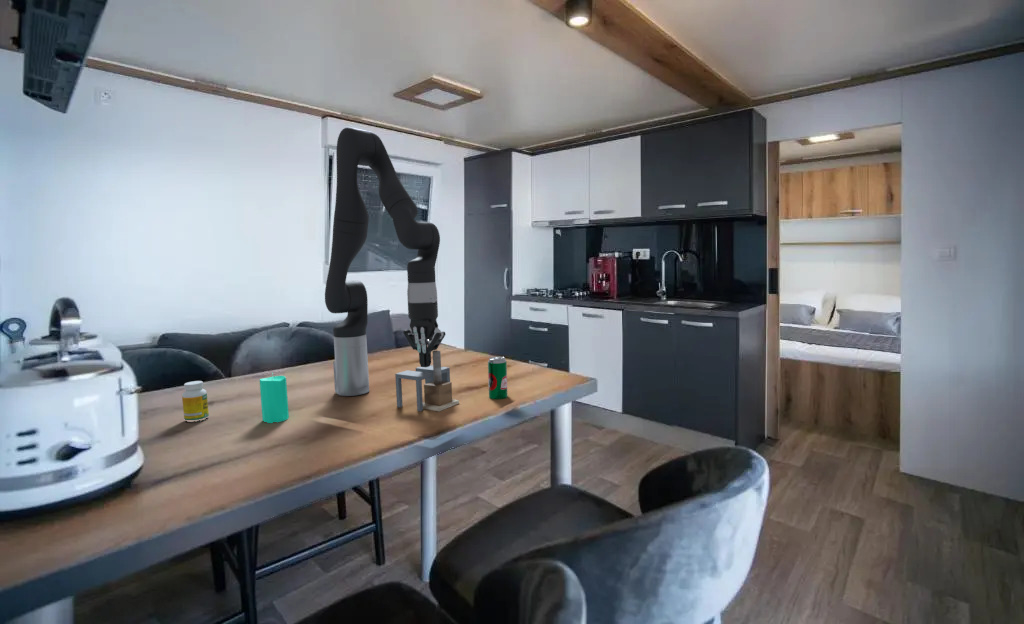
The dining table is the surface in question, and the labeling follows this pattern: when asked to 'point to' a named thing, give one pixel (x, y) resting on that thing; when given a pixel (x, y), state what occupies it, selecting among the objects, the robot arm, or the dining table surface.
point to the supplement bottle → (195, 401)
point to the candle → (274, 399)
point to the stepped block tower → (438, 389)
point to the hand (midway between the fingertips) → (425, 366)
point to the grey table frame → (418, 382)
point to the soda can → (497, 378)
